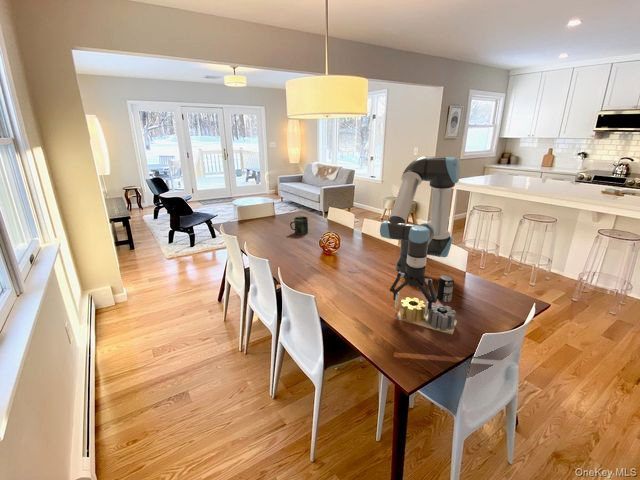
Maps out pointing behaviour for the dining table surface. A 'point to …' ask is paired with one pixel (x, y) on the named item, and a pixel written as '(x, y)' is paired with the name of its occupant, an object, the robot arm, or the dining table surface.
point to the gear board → (425, 323)
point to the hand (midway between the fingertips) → (410, 310)
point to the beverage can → (445, 288)
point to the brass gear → (412, 309)
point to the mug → (300, 225)
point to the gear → (441, 317)
